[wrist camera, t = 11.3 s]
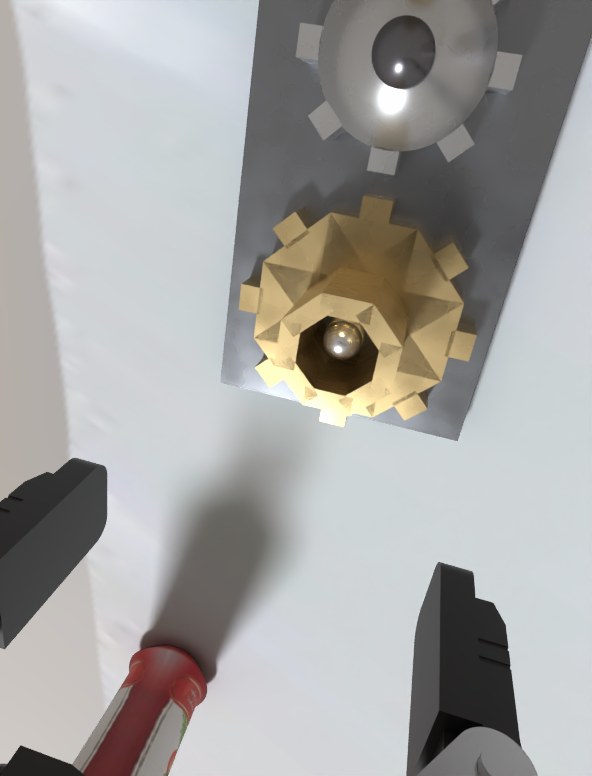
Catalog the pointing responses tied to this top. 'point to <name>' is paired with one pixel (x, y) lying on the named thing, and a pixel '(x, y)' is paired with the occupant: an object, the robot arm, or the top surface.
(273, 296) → the gear
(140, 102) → the top surface
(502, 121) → the carrier plate
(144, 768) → the liquor
